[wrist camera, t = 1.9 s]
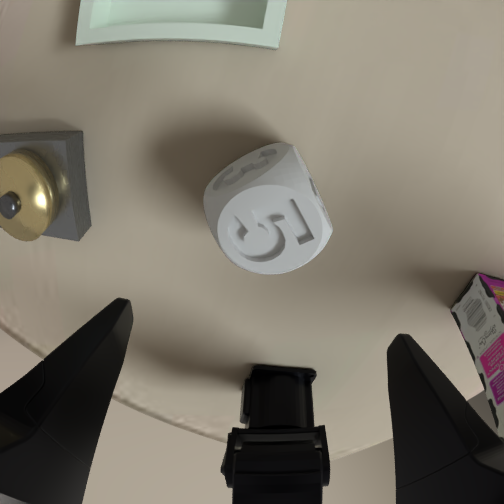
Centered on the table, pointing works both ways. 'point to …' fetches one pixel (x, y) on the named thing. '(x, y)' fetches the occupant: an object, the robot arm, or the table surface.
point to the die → (267, 211)
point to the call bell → (43, 185)
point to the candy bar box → (485, 337)
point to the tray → (181, 21)
